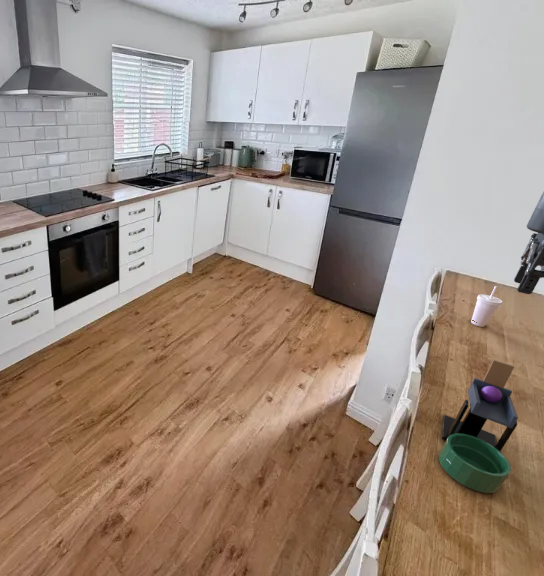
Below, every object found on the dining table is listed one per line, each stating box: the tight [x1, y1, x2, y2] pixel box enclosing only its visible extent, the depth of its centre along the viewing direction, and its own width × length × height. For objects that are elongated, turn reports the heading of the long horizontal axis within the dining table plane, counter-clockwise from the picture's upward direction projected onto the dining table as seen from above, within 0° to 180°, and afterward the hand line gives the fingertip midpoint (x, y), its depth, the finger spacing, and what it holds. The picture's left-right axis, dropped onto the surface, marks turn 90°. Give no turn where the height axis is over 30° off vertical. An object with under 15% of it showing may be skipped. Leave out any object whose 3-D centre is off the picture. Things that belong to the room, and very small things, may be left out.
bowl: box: [438, 433, 512, 494], centre depth 69 cm, size 9×9×5 cm
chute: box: [467, 359, 519, 428], centre depth 71 cm, size 10×6×8 cm, turn 143°
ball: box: [481, 386, 502, 403], centre depth 74 cm, size 3×3×3 cm
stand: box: [441, 399, 518, 452], centre depth 75 cm, size 9×9×10 cm
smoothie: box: [470, 285, 503, 328], centre depth 121 cm, size 6×6×14 cm
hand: (521, 287), depth 78 cm, fingers open, 6 cm apart
